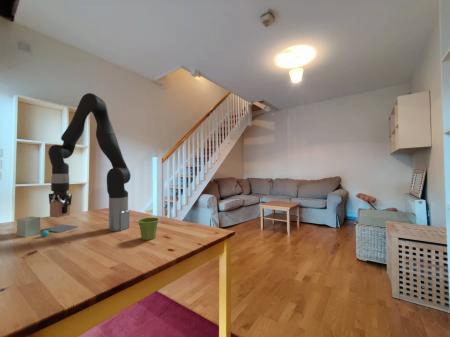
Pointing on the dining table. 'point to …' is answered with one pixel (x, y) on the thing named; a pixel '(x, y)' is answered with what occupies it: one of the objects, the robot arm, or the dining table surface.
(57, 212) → the brown block
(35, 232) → the pale green block
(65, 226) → the slate mat
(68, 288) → the dining table surface
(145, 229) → the plant pot
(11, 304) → the dining table surface
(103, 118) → the robot arm
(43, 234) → the teal marble
